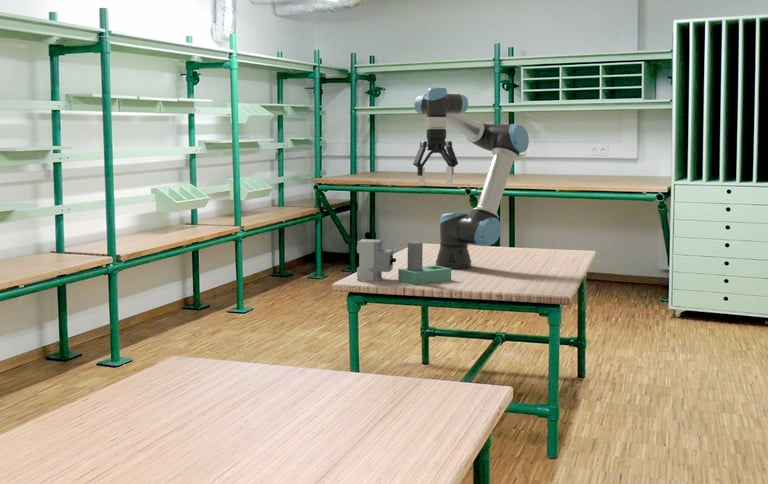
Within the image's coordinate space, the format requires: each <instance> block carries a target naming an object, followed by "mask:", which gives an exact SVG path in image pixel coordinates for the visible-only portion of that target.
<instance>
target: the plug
mask: <svg viewBox="0 0 768 484" xmlns="http://www.w3.org/2000/svg"><path fill="white" fill-rule="evenodd" d="M423 245H424V244H423V242H421V241H420V242H419V241H411V242H409V241H408V242H407V268H408V271H412V272H415V271H422V267H423V254H424V253H423V248H424V247H423Z"/></svg>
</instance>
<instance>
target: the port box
mask: <svg viewBox="0 0 768 484" xmlns="http://www.w3.org/2000/svg"><path fill="white" fill-rule="evenodd" d="M397 274H398V275H397V279H398V281H399V282H402V283H405V282H406V284H409V285H415V286H416V285H424V284H432V283H439V282H440V283H441V282H448V281H452V269H450V268H446V267H441V266H436V264H435V265H427V266H425V265H424V266H422V271H415V272H412V271H408V267H406V268H398V271H397Z"/></svg>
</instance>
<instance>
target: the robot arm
mask: <svg viewBox="0 0 768 484" xmlns="http://www.w3.org/2000/svg"><path fill="white" fill-rule="evenodd" d="M426 93H427V94H423V95H422V94H421V95H418V96H417V97H416V98H415V101H414V105H413V106H414V109H415V111H416V113H418V115H419V114H421V115H426V128H427V129H426V140H427V141H426V140H425V141H424V140H423V141H422V140H421V141H420V142H419V149H418V150H417V153H416V156H415V158H414V160H413V162H412V163H413V164H412V165H413V166H415V167H416V168H417V176H418V185H422V186H423V185H425V183H426V181H425V180H426V172H425V171H426V167H424V166H425V165H426V163H427V161H428V160H429V158H430V157H431V156H432V154H439V155H441V157H442V158H443V159H444V161H445V164H447V166H446V171H445V172H446V175H445V177H446V179H445V181H446V184H449V185H450V184H453V175H454V168H455V167H456V166H458V165H459V161H458V159H457V157H456V153H455V151H454V148H453V142H452V141H451V140H447V141H446V139H447V130H446V128H447V127H449V128H451V129H452V130H453V131H456V132H457V133H459V134H460V135H462V136H463V137H464V136H465V138H466V140H467V141H468V142H469V143H471V144H473V145H475V146H477V147H478V148H481V149H483V150H486V151H488V152H491V153H492V155H493V156H492V158H491V159H492V160H491V163H490V166H489V169H488V172H487V175H486V178H485V180H484V184H483V187H482V190H481V193H480V196H479V199H478V202H477V206H476V207H474V208H472V209H471V212H470V214H469V211H459V212H458V211H457V212H449V213H448V212H447V213H443V214H442V215H441V216H440V223H439V224H440V225H439V229H440V231H439V233H440V234H439V237H440V238H439V239H440V240H439V244H440V245H439V251H438V253H437V257H436V260H435V265H436V266H441V267H446V268H450V269H451V270H452V269H453V270H457V269H458V270H461V269H462V270H463V269H469V268H472V259H471V256H470V252H469V249H468V248H469V247H468V246H469V245H475V246H476V245H477V246H482V247H484V246H486V247H489V246H491V245H493V244H495V243H496V242H497V241H498V240H499V238H500V236H501V232H502V224H501V222H500V220H499V218H500V217H499V215H498V210H499V207H500V203H501V201H502V198H503V196H504V195H503V194H504V191H505V189H506V185H507V182H508V179H509V176H510V172H511V170H512V166H513V163H514V162H515V161H517V160H518V159H519V157H520V153H521V154H522V153H525V152H526V151H527V150H528V147H529V143H530V138H529V133H528V130H527V128H525V126H523V124H515V123H510V124H504V123H503V124H502V123H501V124H497V123H494V124H493V123H484V122H482V121H479V120H474V119H472V118H471V117H469V116H468V115H466V114H465V112H466V111H468V107H469V100H468V98H467V96H466V95H464V94H460V93H448V90H447V88H446V87H429V88H428V89H427V92H426ZM468 244H469V245H468Z"/></svg>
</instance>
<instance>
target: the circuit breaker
mask: <svg viewBox="0 0 768 484" xmlns="http://www.w3.org/2000/svg"><path fill="white" fill-rule="evenodd" d="M356 253H358V254H359V256H358V257H359V259H358V265H359V266H358V267H357V268H356V281H361V280H365V281H367V282H378V281H380V280H381V279H382V276H383V272H384V273H385V272H386V273H389V272H391V271H392V270H393V269H394V263H395V262H397V258H394V250H393V249H383V239H367V238H364V239H360V240H358V241H357V246H356Z"/></svg>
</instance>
